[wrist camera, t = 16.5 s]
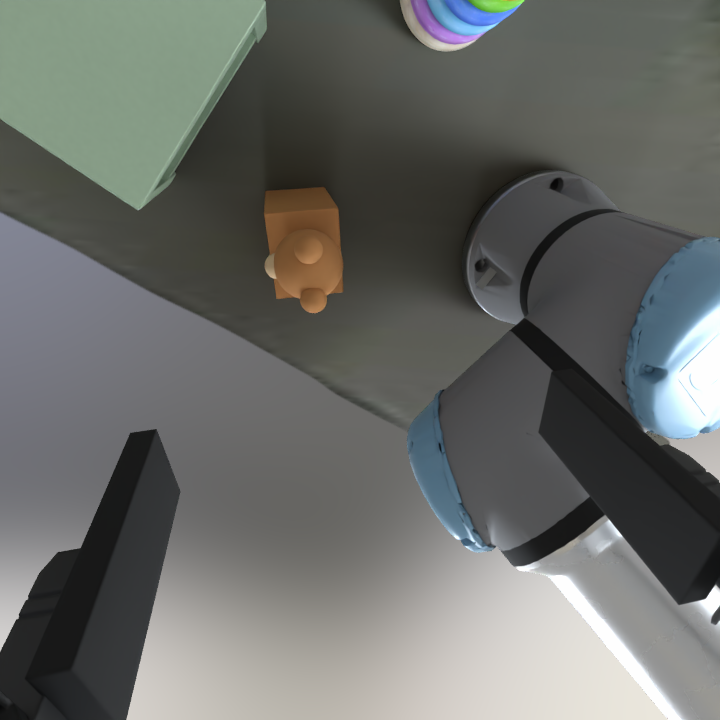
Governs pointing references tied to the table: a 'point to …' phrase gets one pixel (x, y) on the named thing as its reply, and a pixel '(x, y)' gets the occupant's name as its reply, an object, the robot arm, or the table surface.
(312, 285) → the plush bear
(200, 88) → the pale green square stand
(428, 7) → the stacking toy
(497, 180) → the table surface
